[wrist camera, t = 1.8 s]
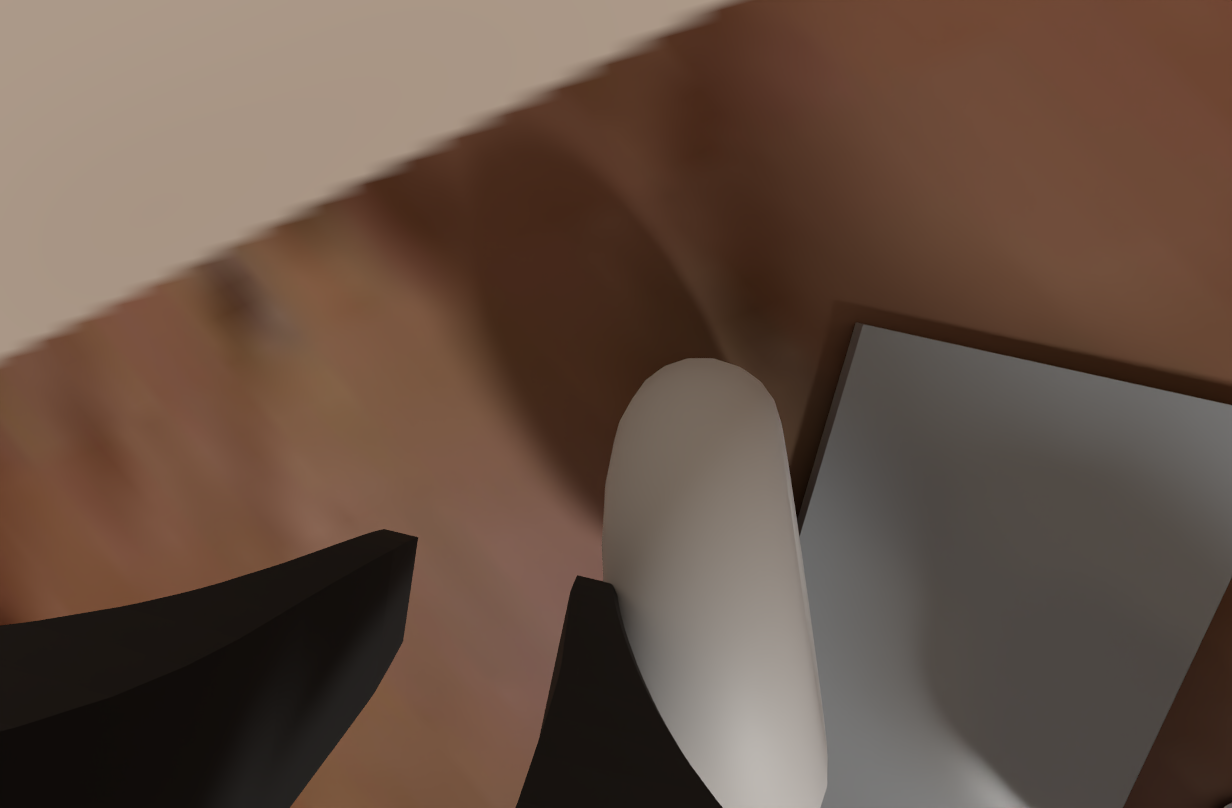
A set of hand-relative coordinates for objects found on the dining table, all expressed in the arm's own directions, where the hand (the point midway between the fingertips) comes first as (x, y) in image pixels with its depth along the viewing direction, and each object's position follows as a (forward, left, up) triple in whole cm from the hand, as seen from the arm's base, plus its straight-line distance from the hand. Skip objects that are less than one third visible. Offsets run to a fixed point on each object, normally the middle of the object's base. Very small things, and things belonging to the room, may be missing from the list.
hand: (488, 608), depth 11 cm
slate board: (-12, +5, -9) cm, 16 cm away
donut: (-5, 0, -9) cm, 10 cm away
